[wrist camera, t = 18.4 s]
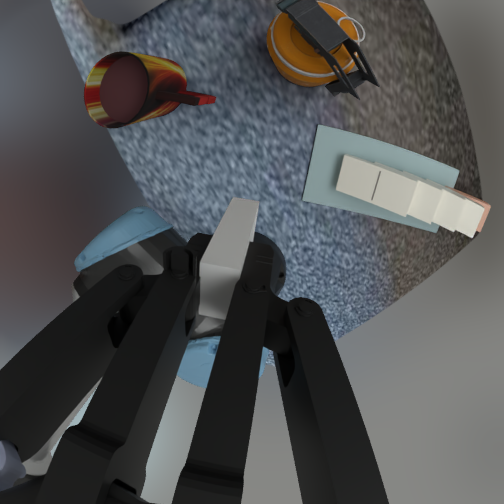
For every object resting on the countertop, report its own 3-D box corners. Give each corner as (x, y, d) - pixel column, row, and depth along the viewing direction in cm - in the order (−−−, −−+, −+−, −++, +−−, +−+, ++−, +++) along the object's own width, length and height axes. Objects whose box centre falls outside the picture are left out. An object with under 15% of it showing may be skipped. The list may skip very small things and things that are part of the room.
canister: (309, 19, 28) (325, -40, 11) (360, 77, 31) (420, 67, 14) (260, 53, 31) (232, 16, 15) (311, 110, 35) (332, 124, 18)
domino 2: (364, 196, 39) (430, 224, 35) (374, 163, 36) (443, 191, 32) (366, 194, 40) (429, 220, 36) (375, 161, 37) (441, 188, 33)
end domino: (439, 218, 38) (480, 232, 38) (450, 189, 35) (491, 206, 35) (434, 214, 40) (475, 227, 40) (445, 185, 37) (485, 201, 37)
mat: (302, 199, 43) (302, 200, 42) (318, 124, 36) (318, 124, 36) (435, 232, 42) (436, 233, 41) (458, 170, 35) (459, 170, 35)
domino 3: (392, 204, 39) (453, 232, 34) (403, 172, 36) (466, 200, 32) (393, 201, 40) (452, 228, 36) (403, 170, 37) (464, 197, 33)
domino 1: (335, 190, 39) (405, 217, 35) (344, 155, 36) (417, 182, 32) (338, 187, 40) (405, 213, 36) (346, 153, 37) (417, 179, 33)
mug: (219, 102, 36) (192, 106, 26) (137, 123, 39) (93, 138, 29) (207, 43, 31) (177, 26, 21) (126, 70, 34) (78, 70, 24)
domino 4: (416, 211, 38) (472, 238, 34) (427, 180, 36) (484, 208, 31) (416, 208, 40) (470, 234, 36) (426, 178, 37) (482, 205, 33)
